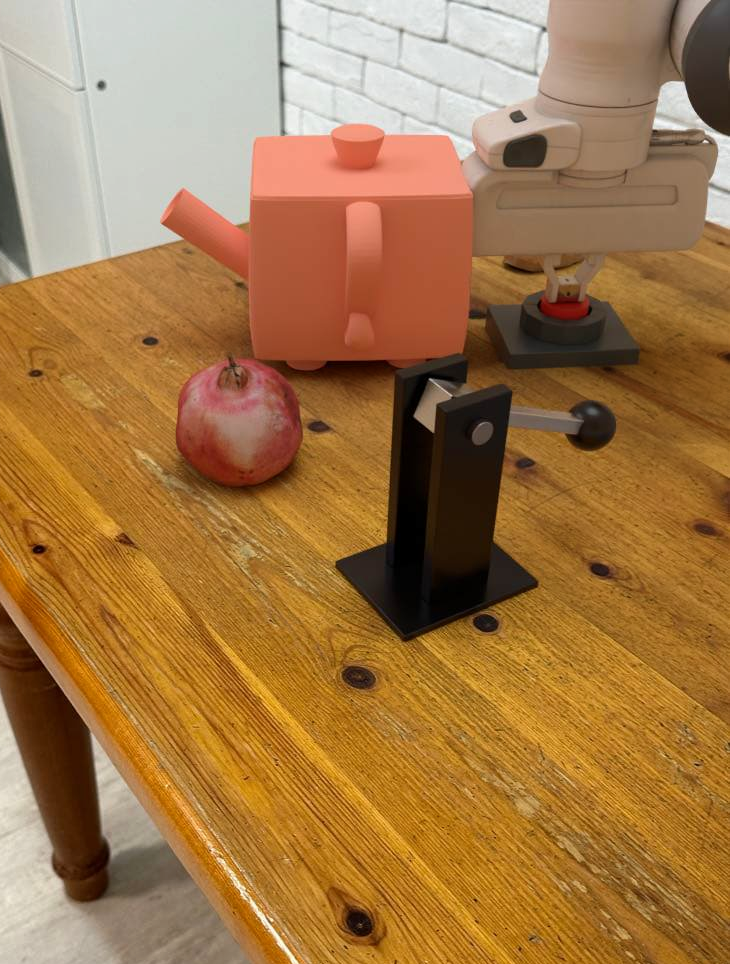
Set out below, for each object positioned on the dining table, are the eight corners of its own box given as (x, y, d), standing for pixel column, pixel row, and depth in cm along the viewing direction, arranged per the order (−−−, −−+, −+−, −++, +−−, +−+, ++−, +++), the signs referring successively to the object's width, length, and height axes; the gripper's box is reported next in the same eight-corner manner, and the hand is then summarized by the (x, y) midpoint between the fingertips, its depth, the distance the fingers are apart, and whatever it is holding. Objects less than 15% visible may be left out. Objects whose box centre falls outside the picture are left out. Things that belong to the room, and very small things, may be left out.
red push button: (578, 310, 91) (582, 288, 90) (591, 332, 88) (595, 309, 87) (533, 312, 91) (536, 290, 89) (545, 333, 88) (548, 311, 86)
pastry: (537, 283, 101) (541, 245, 99) (484, 262, 105) (488, 225, 103) (596, 257, 106) (602, 220, 104) (544, 238, 110) (549, 202, 108)
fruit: (228, 421, 82) (221, 302, 75) (328, 460, 77) (329, 338, 71) (148, 476, 76) (133, 352, 69) (252, 522, 71) (245, 394, 65)
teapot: (160, 405, 83) (135, 182, 72) (181, 283, 101) (164, 89, 90) (472, 400, 84) (495, 178, 73) (438, 280, 102) (453, 87, 91)
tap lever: (578, 438, 68) (600, 393, 67) (612, 462, 66) (635, 416, 65) (405, 418, 59) (426, 367, 58) (437, 446, 57) (460, 393, 56)
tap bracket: (461, 527, 71) (482, 329, 62) (536, 595, 66) (572, 389, 56) (334, 575, 67) (337, 371, 58) (403, 651, 62) (418, 439, 52)
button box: (604, 323, 95) (611, 281, 92) (635, 372, 88) (645, 329, 85) (484, 327, 94) (489, 286, 92) (507, 377, 87) (512, 334, 85)
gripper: (708, 115, 83) (670, 280, 91) (453, 120, 81) (439, 287, 90) (740, 141, 78) (697, 312, 86) (469, 147, 76) (452, 320, 85)
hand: (563, 299), depth 88 cm, fingers closed, pressing on red push button
